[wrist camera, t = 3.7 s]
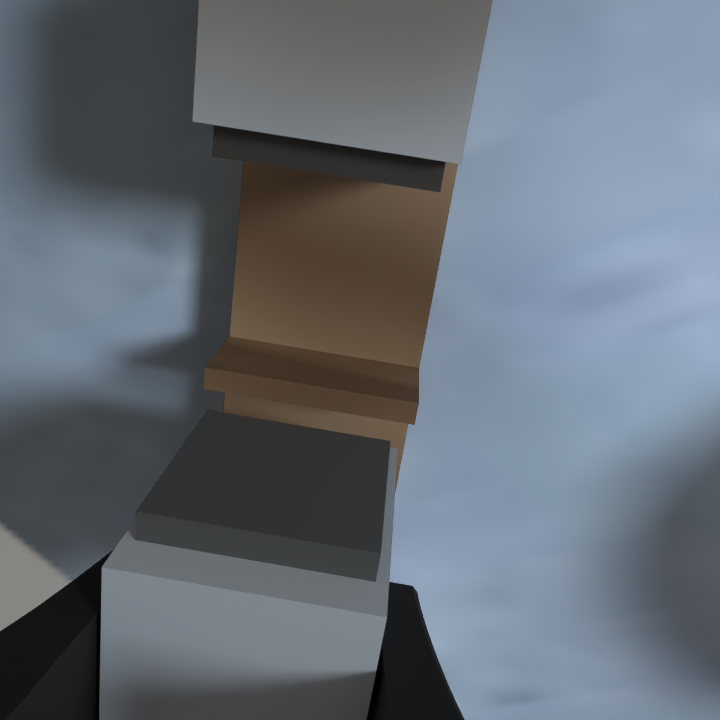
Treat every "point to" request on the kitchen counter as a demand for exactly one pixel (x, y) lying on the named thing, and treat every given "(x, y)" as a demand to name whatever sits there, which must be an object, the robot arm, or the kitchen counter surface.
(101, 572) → the robot arm
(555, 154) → the kitchen counter surface
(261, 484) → the block
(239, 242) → the rail
